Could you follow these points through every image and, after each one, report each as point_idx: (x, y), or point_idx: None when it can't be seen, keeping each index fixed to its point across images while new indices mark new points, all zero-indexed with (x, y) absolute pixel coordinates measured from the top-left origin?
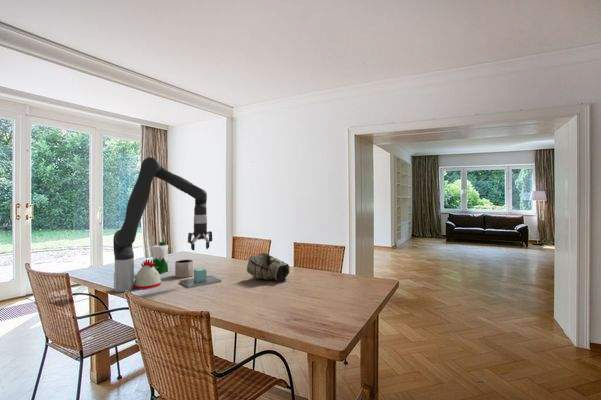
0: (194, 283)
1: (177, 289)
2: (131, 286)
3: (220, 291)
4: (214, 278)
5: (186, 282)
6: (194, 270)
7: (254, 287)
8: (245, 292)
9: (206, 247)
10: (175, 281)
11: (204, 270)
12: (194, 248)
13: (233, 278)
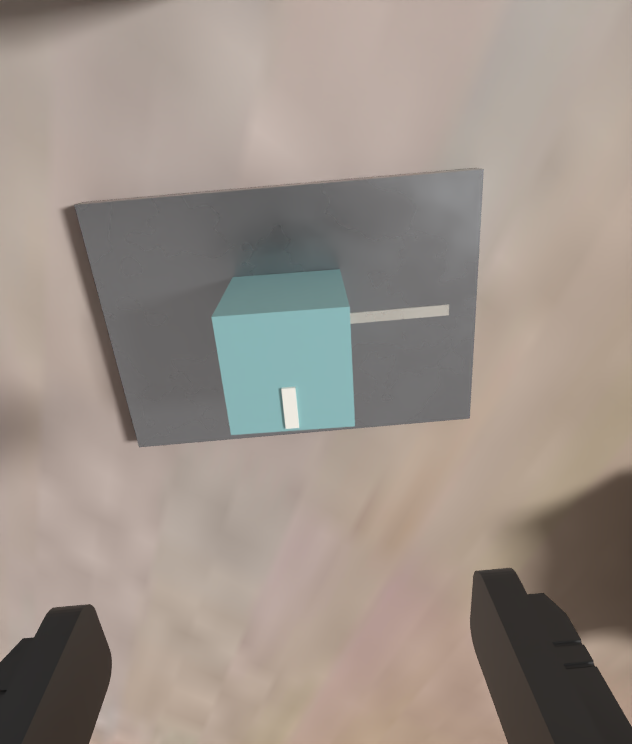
0: (208, 405)
1: (52, 427)
2: None
3: (338, 615)
4: (443, 337)
5: (142, 327)
6: (218, 346)
7: None
8: (456, 690)
9: (484, 624)
10: (43, 107)
11: (328, 424)
12: (94, 720)
13: (619, 363)
